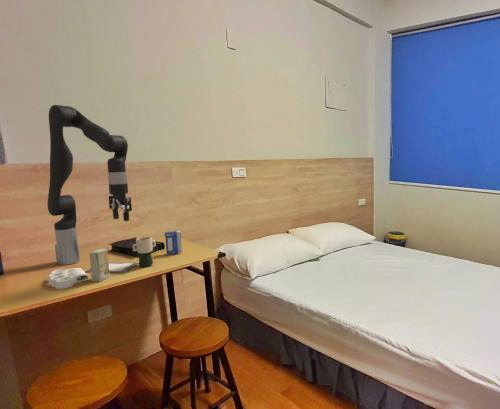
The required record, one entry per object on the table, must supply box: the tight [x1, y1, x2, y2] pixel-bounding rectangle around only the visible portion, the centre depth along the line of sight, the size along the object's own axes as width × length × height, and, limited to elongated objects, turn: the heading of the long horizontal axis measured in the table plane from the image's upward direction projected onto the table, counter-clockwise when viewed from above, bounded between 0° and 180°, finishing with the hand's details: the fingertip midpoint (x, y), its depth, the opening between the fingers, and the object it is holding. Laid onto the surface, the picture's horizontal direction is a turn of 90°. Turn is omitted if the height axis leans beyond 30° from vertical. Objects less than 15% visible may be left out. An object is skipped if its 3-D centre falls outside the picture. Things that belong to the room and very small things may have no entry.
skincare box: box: [89, 248, 111, 283], centre depth 135 cm, size 6×4×12 cm
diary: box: [108, 236, 166, 259], centre depth 178 cm, size 19×25×5 cm
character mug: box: [133, 236, 156, 267], centre depth 151 cm, size 11×7×13 cm, turn 130°
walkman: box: [164, 230, 183, 256], centre depth 168 cm, size 8×3×12 cm, turn 103°
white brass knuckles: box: [45, 267, 89, 290], centre depth 135 cm, size 3×18×15 cm
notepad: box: [85, 261, 139, 274], centre depth 150 cm, size 19×13×1 cm
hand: (121, 219), depth 141 cm, fingers open, 8 cm apart
